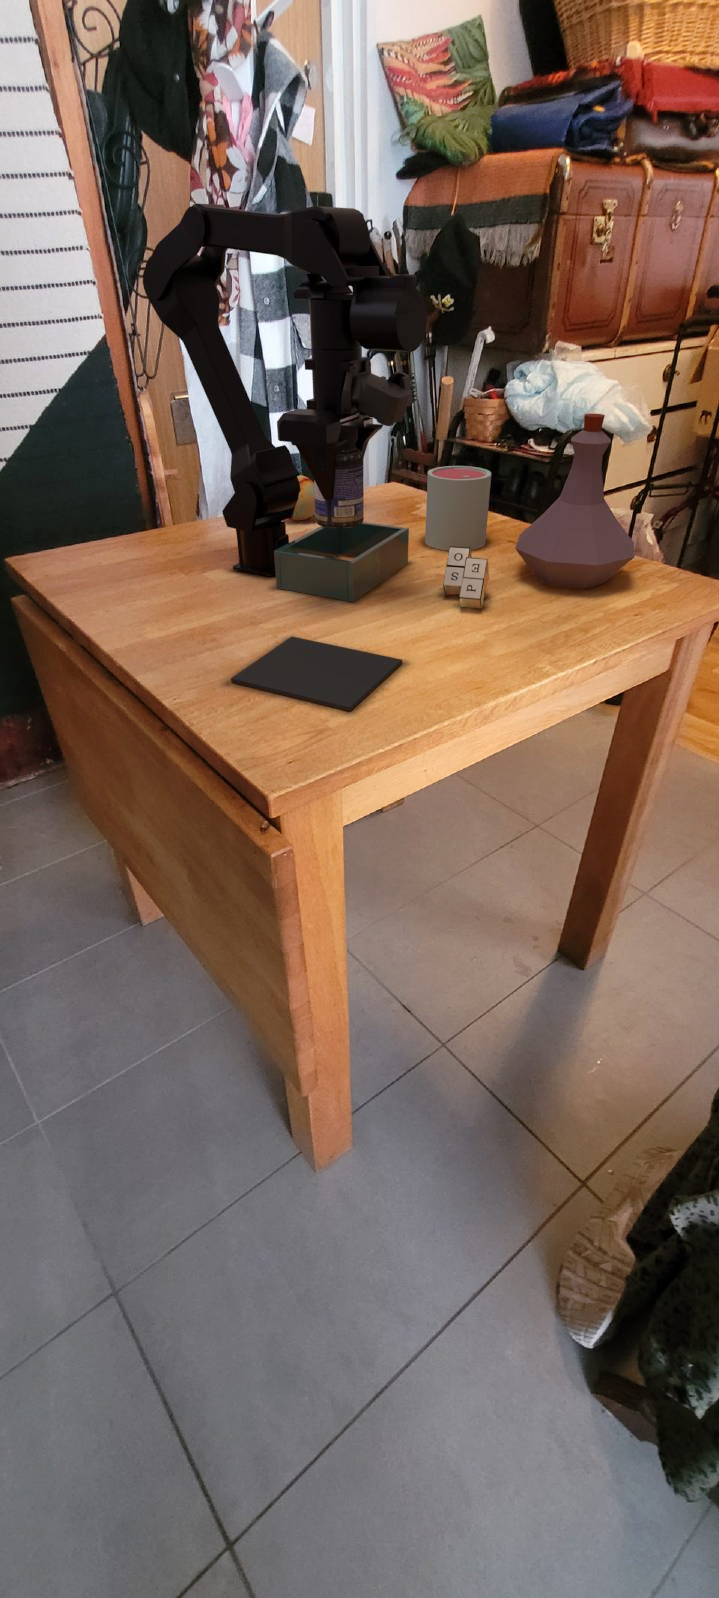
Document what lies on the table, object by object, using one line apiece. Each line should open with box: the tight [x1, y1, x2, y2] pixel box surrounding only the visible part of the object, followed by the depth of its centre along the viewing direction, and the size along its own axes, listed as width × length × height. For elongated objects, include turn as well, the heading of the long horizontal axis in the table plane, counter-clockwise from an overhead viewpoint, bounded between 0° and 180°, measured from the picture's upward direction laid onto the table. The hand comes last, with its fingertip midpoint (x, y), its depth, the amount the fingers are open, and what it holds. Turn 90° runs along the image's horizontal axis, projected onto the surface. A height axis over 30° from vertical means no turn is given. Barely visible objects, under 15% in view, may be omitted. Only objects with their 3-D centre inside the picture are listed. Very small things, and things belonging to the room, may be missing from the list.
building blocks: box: [442, 546, 490, 609], centre depth 97 cm, size 5×5×8 cm
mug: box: [424, 465, 492, 552], centre depth 117 cm, size 14×9×10 cm
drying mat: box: [230, 636, 403, 712], centre depth 81 cm, size 14×12×1 cm
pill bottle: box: [313, 425, 365, 529], centre depth 94 cm, size 6×6×11 cm
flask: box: [514, 412, 636, 590], centre depth 99 cm, size 16×16×20 cm
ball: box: [290, 474, 315, 521], centre depth 127 cm, size 7×7×7 cm
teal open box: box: [274, 521, 410, 603], centre depth 104 cm, size 12×17×5 cm
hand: (340, 493), depth 95 cm, fingers closed on pill bottle, 6 cm apart
